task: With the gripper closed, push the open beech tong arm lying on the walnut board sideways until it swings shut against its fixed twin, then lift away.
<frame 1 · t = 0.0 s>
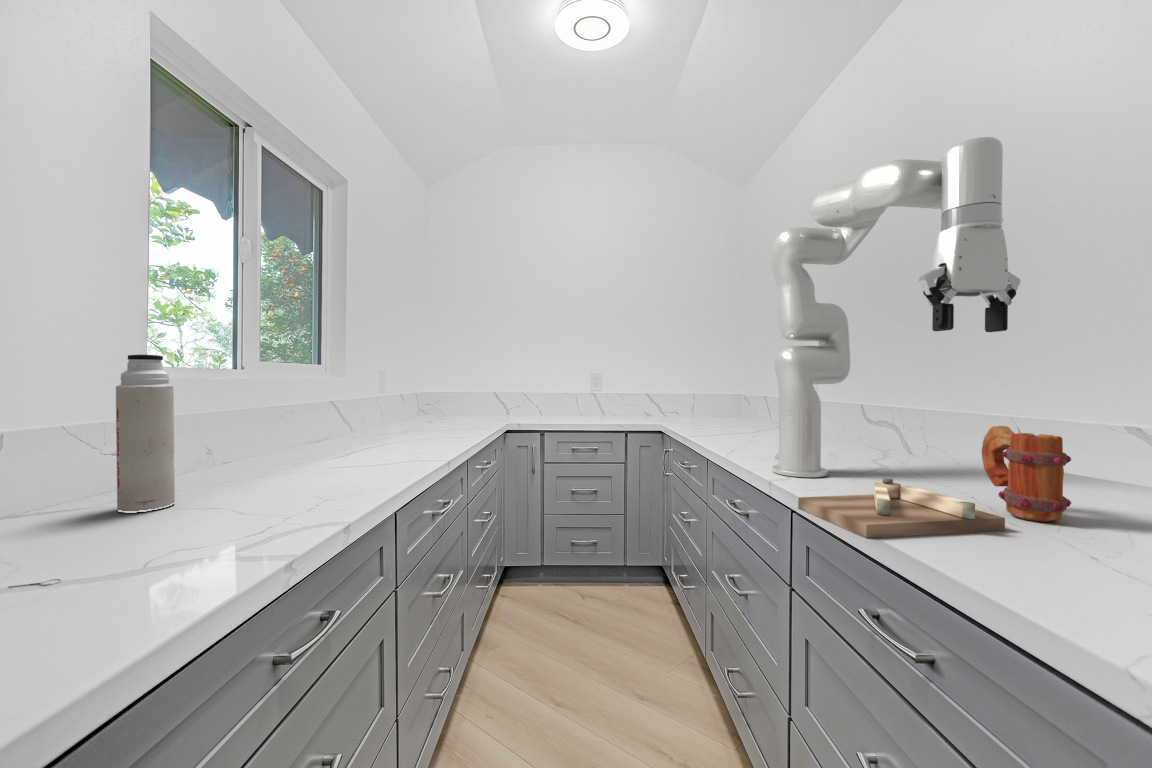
hand: (969, 330, 79), 31 cm above the countertop, fingers open, 9 cm apart
mug: (1020, 515, 87), on the countertop
thermos bottle: (146, 509, 91), on the countertop
tong arm: (889, 497, 85), point 3 cm above the countertop, hinge at -38.0°
board: (893, 518, 84), on the countertop
tongs fixed: (887, 495, 91), resting on board
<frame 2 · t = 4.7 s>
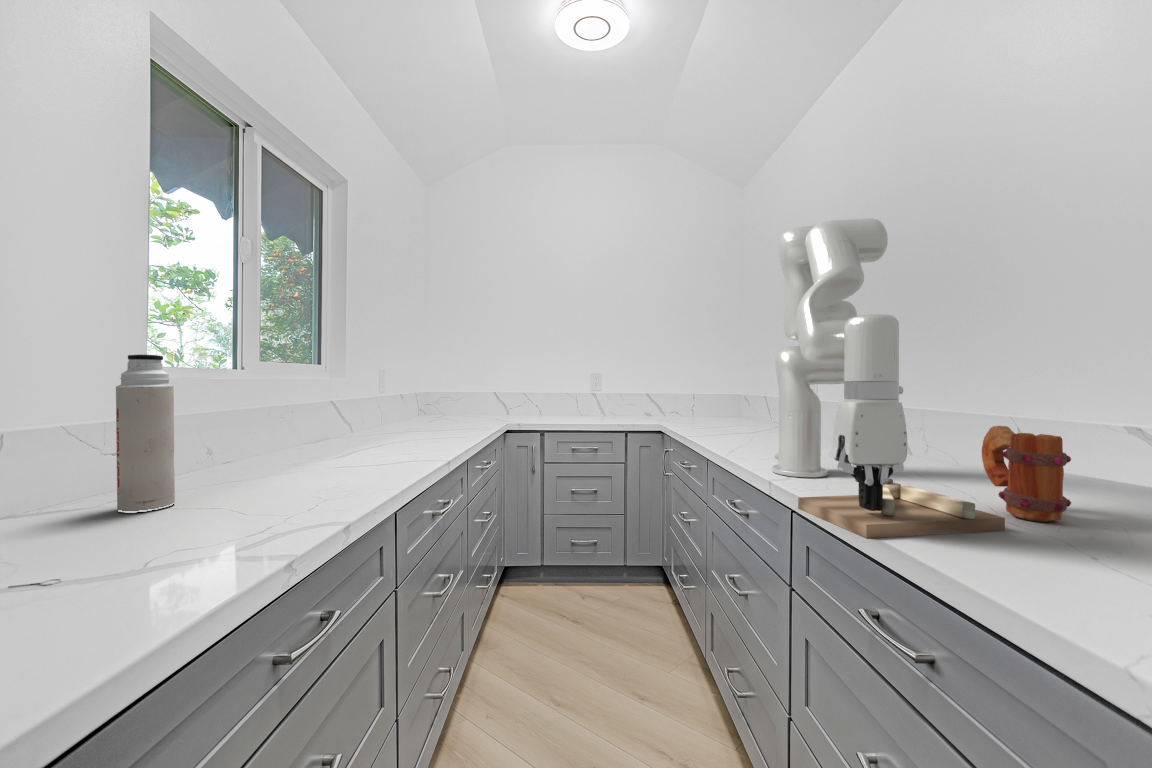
hand: (870, 508, 79), 3 cm above the countertop, fingers closed
tong arm: (891, 497, 85), point 3 cm above the countertop, hinge at -35.5°, touching gripper
everything else where it was.
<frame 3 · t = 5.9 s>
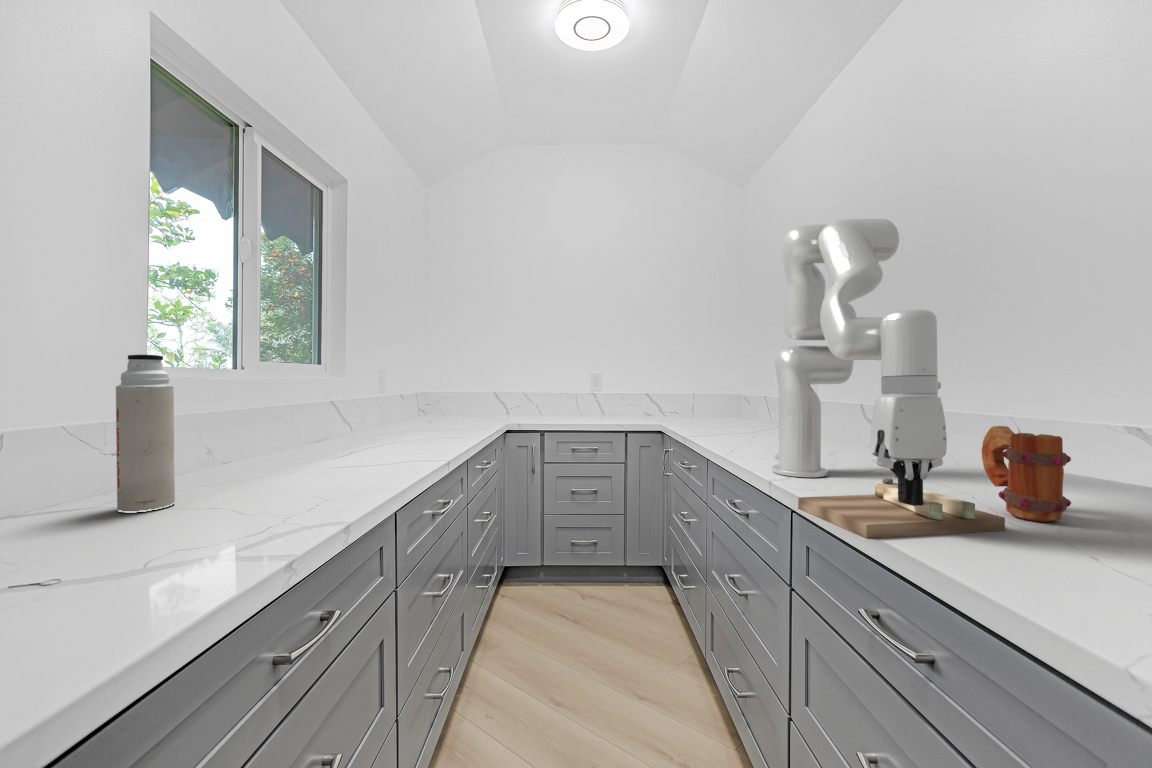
hand: (910, 503, 79), 4 cm above the countertop, fingers closed
tong arm: (910, 498, 84), point 3 cm above the countertop, hinge at -10.5°, touching gripper
everything else where it was.
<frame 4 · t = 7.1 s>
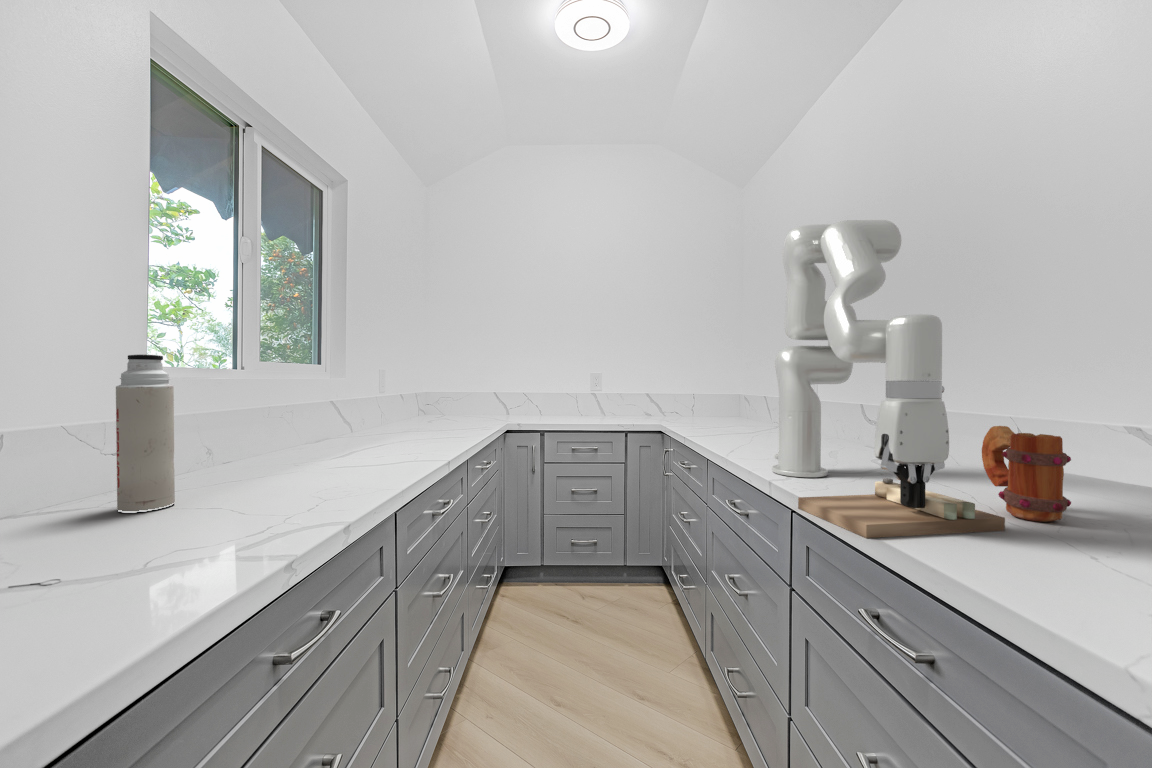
hand: (912, 505, 80), 3 cm above the countertop, fingers closed
tong arm: (916, 498, 84), point 3 cm above the countertop, hinge at -2.2°
everything else where it was.
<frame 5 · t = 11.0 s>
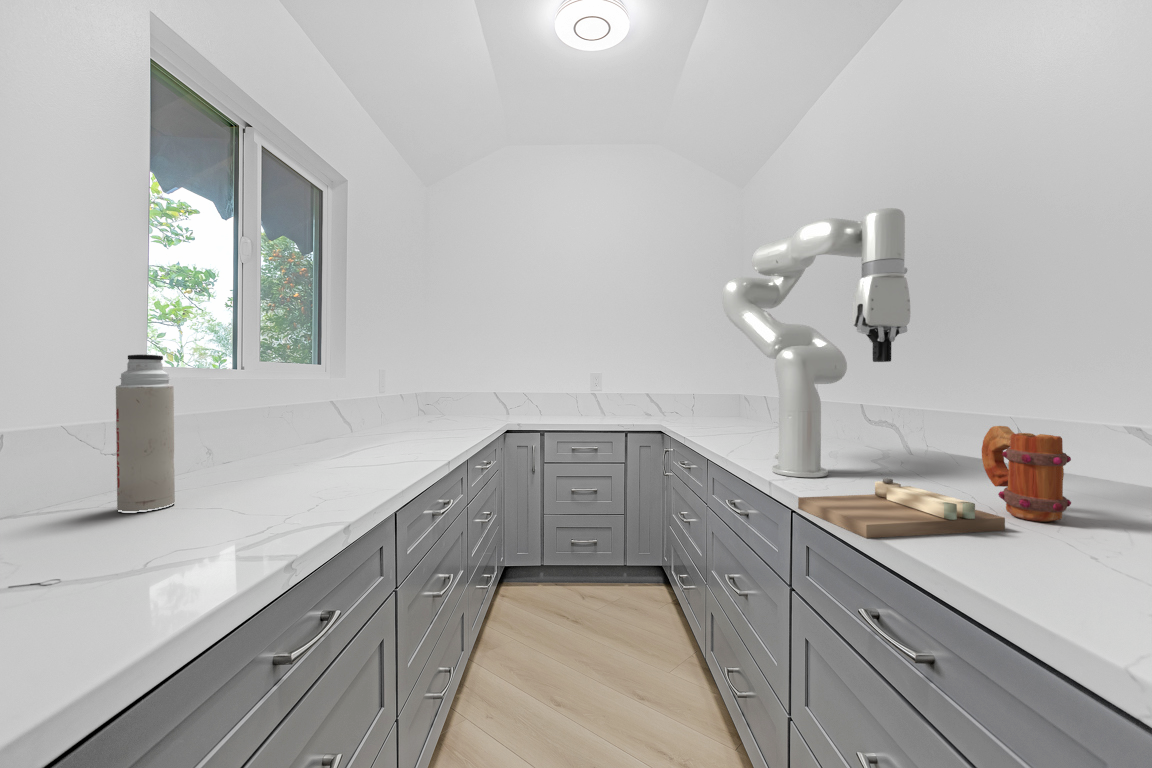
hand: (881, 361, 102), 27 cm above the countertop, fingers closed
nothing on the countertop moved.
at the end: tong arm at -2° (first picture: -38°); the gripper is holding nothing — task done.
